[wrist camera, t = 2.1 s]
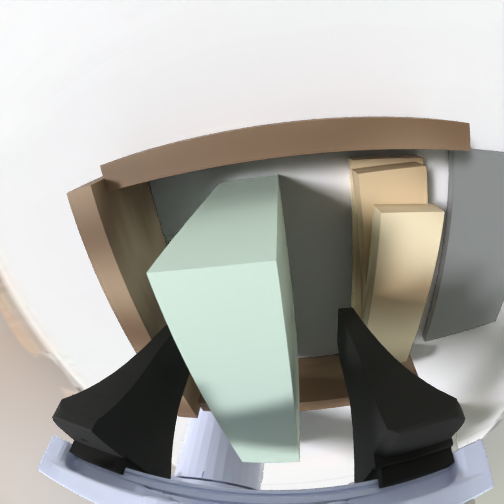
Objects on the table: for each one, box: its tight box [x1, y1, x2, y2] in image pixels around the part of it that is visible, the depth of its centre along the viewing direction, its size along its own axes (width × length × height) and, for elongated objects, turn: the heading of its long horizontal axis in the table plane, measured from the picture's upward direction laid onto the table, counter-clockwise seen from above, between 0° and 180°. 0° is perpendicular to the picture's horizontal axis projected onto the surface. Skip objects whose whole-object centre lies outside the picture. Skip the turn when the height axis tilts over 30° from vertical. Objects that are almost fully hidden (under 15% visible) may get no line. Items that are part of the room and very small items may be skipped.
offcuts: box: [349, 155, 445, 363], centre depth 14 cm, size 13×4×4 cm, turn 9°
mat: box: [423, 149, 504, 341], centre depth 14 cm, size 14×8×1 cm, turn 9°
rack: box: [67, 117, 470, 418], centre depth 14 cm, size 17×17×5 cm
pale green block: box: [146, 174, 300, 463], centre depth 13 cm, size 12×3×9 cm, turn 9°
